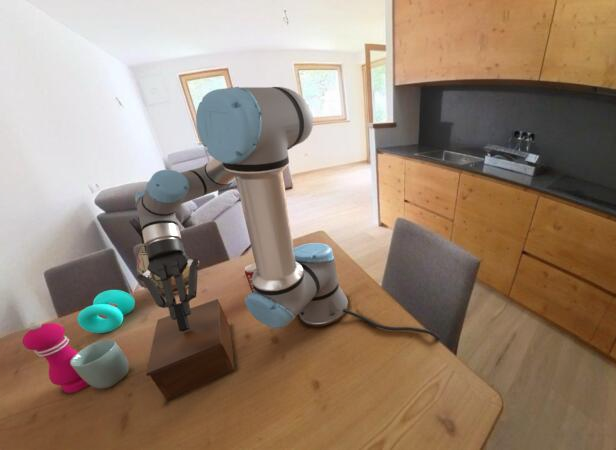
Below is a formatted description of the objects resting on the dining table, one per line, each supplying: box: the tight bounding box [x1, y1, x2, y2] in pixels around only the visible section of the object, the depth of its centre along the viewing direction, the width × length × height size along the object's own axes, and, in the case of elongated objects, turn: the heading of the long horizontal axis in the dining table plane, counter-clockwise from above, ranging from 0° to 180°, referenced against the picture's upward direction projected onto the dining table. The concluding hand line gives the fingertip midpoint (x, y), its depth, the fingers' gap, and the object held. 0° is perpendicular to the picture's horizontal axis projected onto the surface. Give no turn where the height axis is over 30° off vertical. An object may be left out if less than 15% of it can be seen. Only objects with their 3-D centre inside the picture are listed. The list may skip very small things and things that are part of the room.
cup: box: [70, 338, 130, 390], centre depth 68 cm, size 8×8×10 cm
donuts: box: [77, 289, 136, 334], centre depth 86 cm, size 10×10×10 cm
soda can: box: [244, 262, 257, 293], centre depth 95 cm, size 5×5×12 cm
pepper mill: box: [21, 321, 90, 394], centre depth 66 cm, size 7×7×20 cm
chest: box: [149, 301, 235, 402], centre depth 72 cm, size 18×14×10 cm
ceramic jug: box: [129, 217, 191, 295], centre depth 96 cm, size 17×15×30 cm
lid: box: [145, 298, 222, 377], centre depth 70 cm, size 19×14×1 cm
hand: (184, 329), depth 68 cm, fingers closed
